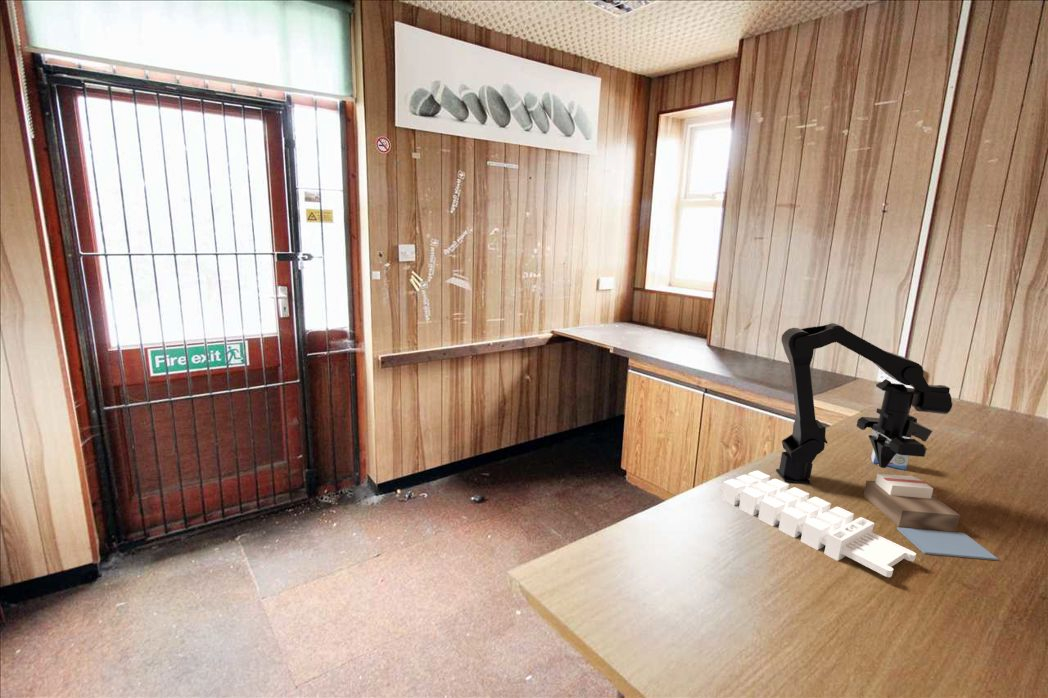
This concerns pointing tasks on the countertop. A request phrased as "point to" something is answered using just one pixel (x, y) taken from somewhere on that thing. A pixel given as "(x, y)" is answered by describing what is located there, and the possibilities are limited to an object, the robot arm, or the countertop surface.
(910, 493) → the card box
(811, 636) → the countertop surface
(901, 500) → the taupe square box
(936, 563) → the countertop surface
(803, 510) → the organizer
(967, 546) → the mat
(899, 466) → the medicine box
